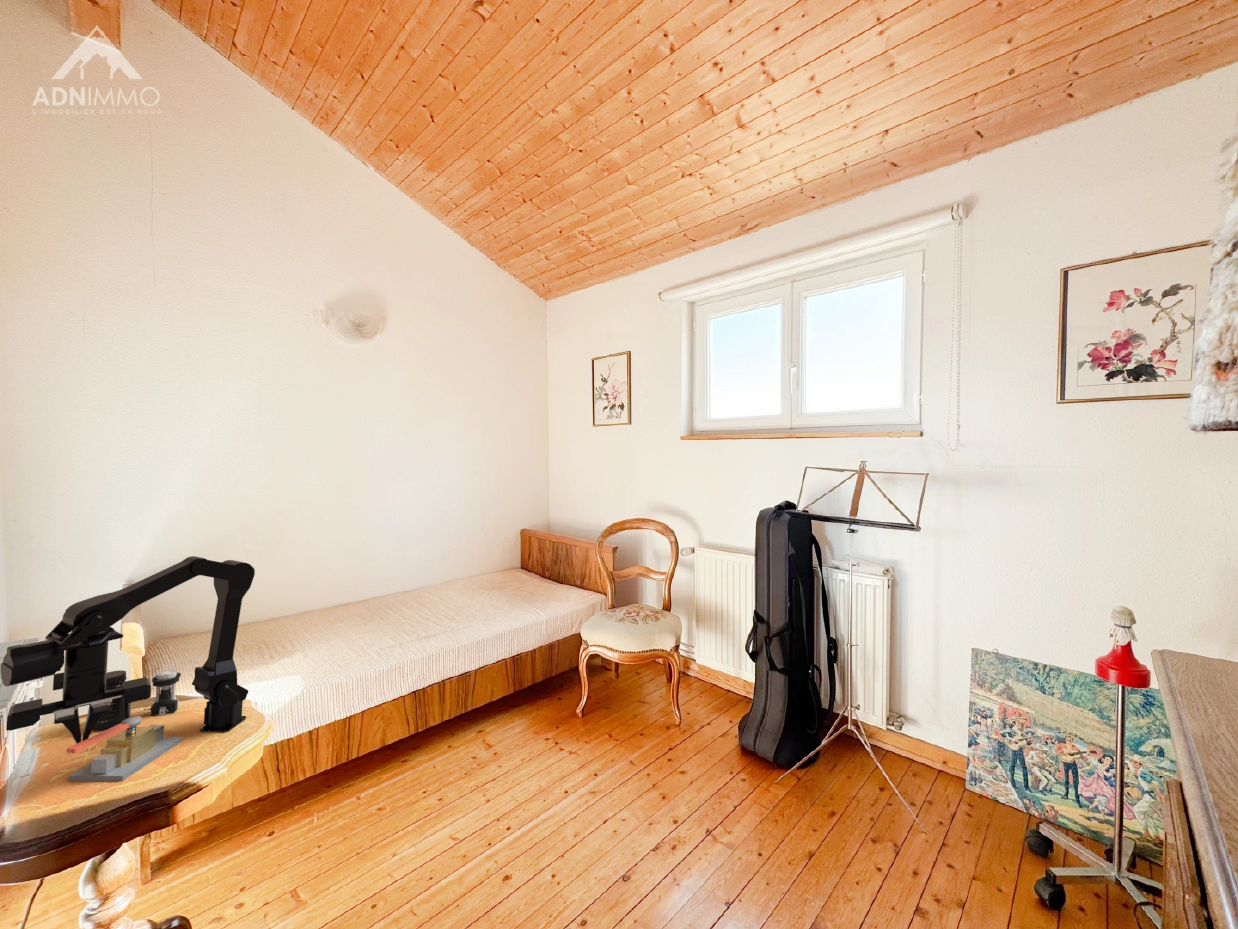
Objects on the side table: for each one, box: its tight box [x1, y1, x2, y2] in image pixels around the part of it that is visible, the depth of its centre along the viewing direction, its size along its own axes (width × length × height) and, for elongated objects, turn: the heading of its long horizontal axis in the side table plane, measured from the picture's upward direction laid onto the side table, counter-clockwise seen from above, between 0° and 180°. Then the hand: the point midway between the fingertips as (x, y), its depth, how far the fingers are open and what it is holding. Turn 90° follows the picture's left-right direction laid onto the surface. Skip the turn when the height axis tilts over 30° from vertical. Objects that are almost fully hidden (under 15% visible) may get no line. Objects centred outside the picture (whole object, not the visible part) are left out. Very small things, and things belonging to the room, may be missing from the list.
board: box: [68, 736, 183, 782], centre depth 102 cm, size 10×14×1 cm
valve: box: [90, 724, 165, 774], centre depth 102 cm, size 5×13×6 cm, turn 4°
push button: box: [142, 669, 182, 716], centre depth 121 cm, size 7×5×10 cm
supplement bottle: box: [92, 669, 132, 732], centre depth 115 cm, size 7×7×12 cm
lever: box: [66, 715, 142, 754], centre depth 98 cm, size 12×3×1 cm, turn 175°
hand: (81, 744), depth 95 cm, fingers closed
